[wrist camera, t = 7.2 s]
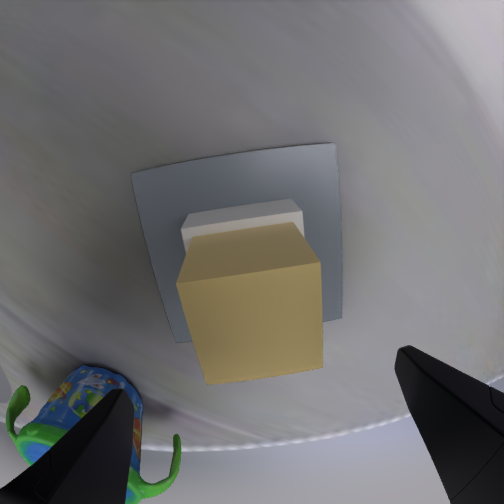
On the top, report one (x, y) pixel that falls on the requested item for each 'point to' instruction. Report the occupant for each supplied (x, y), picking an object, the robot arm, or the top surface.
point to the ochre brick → (253, 303)
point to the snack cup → (71, 411)
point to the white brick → (241, 218)
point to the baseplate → (236, 194)
